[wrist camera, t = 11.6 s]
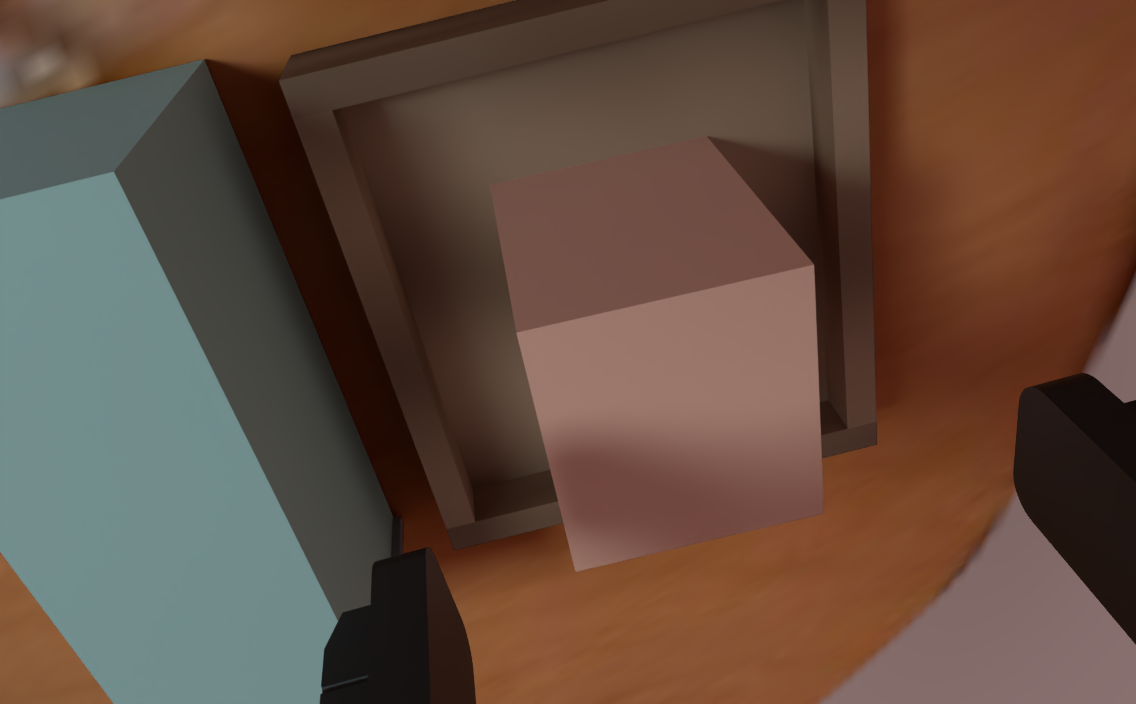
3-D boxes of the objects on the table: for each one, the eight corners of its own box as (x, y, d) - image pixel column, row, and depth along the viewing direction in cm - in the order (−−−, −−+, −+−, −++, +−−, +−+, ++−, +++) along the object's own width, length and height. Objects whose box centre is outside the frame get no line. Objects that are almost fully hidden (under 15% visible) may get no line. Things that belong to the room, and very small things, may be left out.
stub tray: (291, 55, 17) (279, 80, 16) (825, -75, 17) (864, -63, 16) (452, 500, 23) (454, 550, 22) (847, 402, 23) (877, 444, 22)
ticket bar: (-32, 116, 17) (-232, 260, 12) (215, 57, 17) (124, 173, 12) (225, 567, 23) (169, 790, 18) (404, 522, 24) (399, 732, 18)
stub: (489, 184, 19) (516, 332, 13) (706, 135, 19) (814, 265, 14) (538, 384, 21) (575, 572, 16) (727, 341, 21) (823, 513, 16)
